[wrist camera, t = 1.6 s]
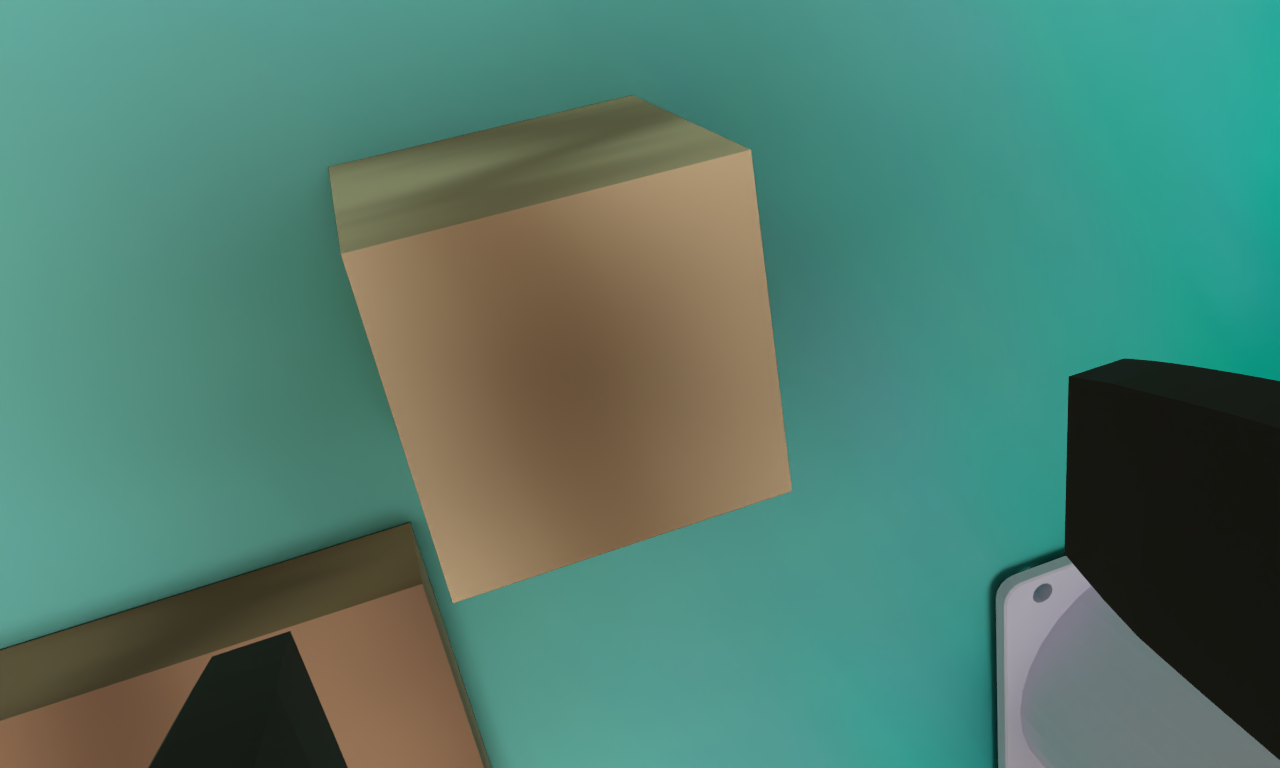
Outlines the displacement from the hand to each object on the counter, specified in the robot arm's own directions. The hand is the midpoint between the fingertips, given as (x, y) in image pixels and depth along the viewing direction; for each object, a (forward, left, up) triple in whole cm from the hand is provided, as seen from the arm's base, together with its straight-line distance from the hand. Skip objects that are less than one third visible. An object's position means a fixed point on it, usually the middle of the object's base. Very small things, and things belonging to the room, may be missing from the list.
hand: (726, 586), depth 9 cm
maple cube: (0, 0, -10) cm, 10 cm away
